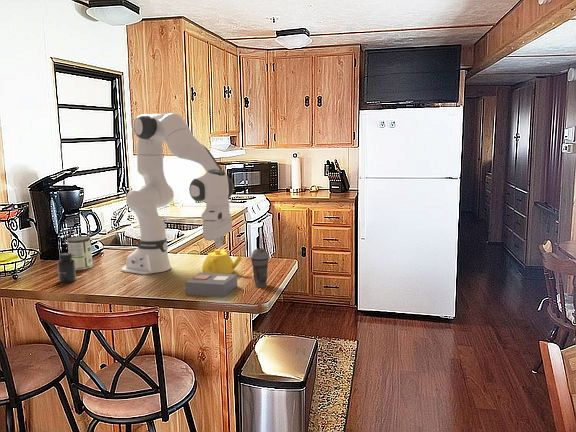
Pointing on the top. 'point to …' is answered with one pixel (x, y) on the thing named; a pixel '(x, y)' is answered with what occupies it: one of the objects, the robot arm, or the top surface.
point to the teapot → (220, 262)
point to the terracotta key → (202, 277)
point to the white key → (220, 278)
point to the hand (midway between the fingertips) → (219, 247)
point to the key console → (211, 285)
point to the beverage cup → (260, 266)
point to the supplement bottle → (66, 268)
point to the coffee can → (80, 251)
